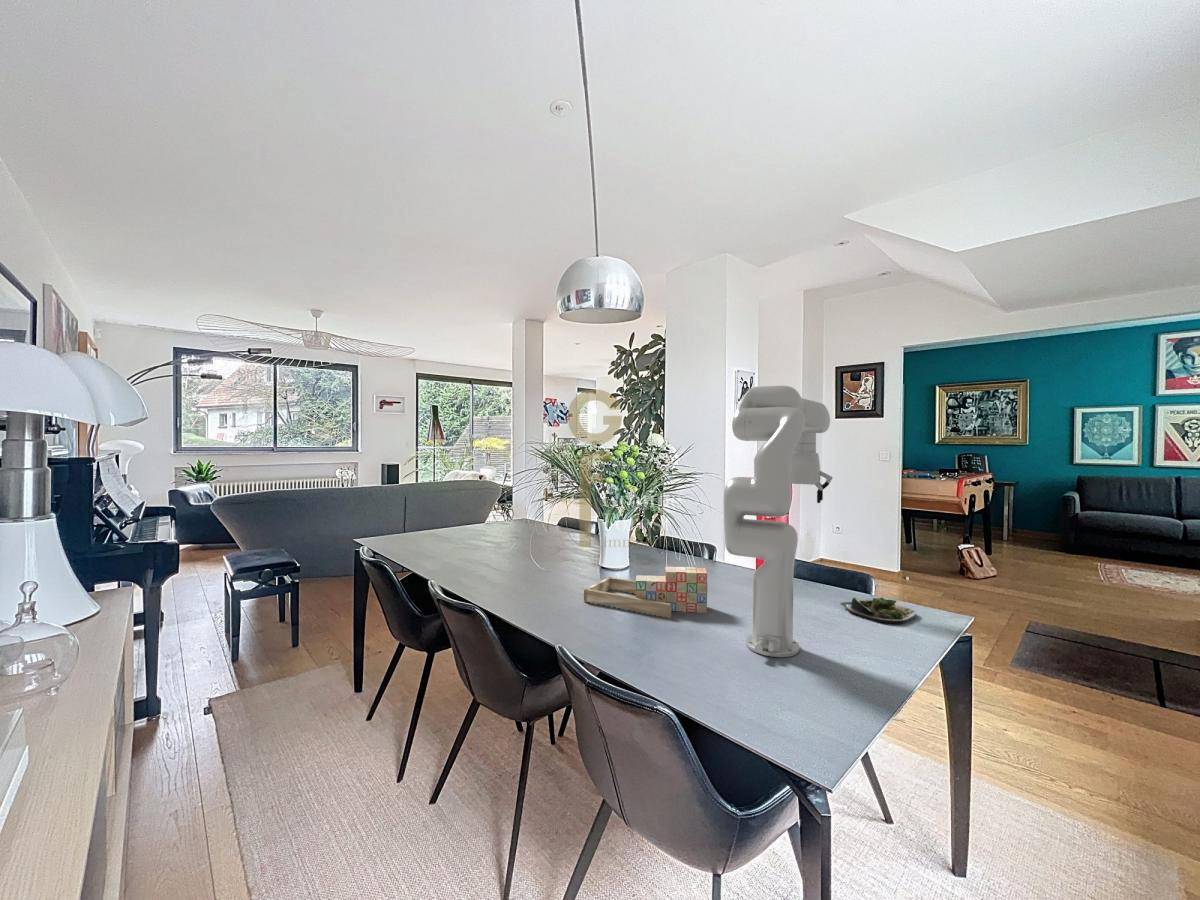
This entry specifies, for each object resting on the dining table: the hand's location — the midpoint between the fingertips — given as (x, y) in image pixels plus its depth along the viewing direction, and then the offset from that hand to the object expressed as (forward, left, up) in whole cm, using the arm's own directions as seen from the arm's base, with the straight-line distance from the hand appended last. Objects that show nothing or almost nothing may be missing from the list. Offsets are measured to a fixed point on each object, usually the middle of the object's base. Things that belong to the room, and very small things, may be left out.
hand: (802, 501), depth 167 cm
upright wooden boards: (-31, +45, -31) cm, 63 cm away
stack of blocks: (-31, +33, -32) cm, 55 cm away
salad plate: (-5, -22, -32) cm, 39 cm away
